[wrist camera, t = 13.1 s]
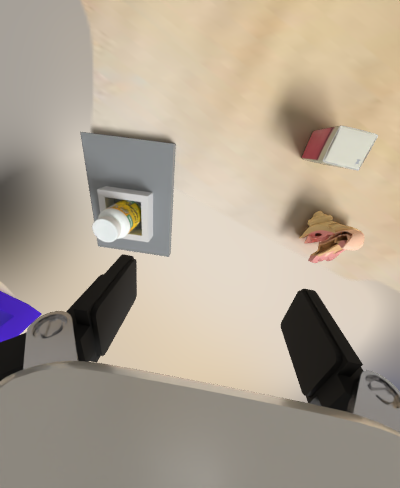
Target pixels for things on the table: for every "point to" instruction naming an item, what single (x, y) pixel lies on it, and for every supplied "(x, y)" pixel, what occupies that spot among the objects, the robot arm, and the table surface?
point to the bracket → (14, 316)
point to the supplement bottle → (117, 220)
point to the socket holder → (133, 187)
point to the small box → (339, 147)
